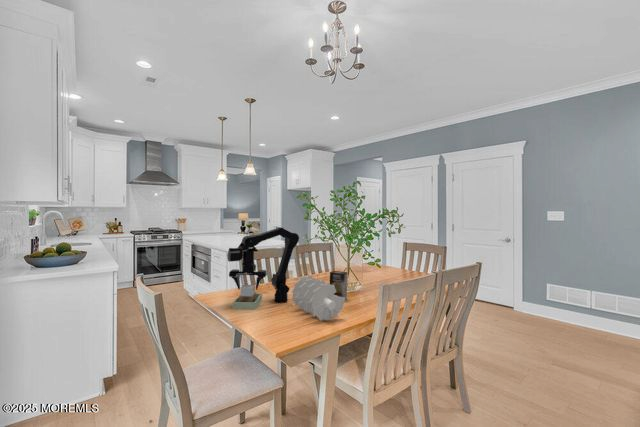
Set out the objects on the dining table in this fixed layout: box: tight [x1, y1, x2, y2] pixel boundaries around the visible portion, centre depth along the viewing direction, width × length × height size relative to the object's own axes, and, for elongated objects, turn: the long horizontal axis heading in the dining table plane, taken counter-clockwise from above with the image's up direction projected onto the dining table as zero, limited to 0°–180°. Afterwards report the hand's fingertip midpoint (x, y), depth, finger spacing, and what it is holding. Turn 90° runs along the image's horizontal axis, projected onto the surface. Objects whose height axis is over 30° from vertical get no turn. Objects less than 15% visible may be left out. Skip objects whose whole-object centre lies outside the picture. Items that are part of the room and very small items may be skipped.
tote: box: [232, 292, 263, 311], centre depth 162 cm, size 12×17×4 cm
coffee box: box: [329, 270, 348, 301], centre depth 174 cm, size 9×6×16 cm
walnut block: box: [238, 292, 257, 302], centre depth 159 cm, size 7×7×6 cm
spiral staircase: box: [291, 274, 346, 322], centre depth 149 cm, size 18×18×25 cm
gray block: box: [240, 284, 256, 296], centre depth 159 cm, size 6×6×4 cm
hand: (248, 289), depth 159 cm, fingers open, 9 cm apart
